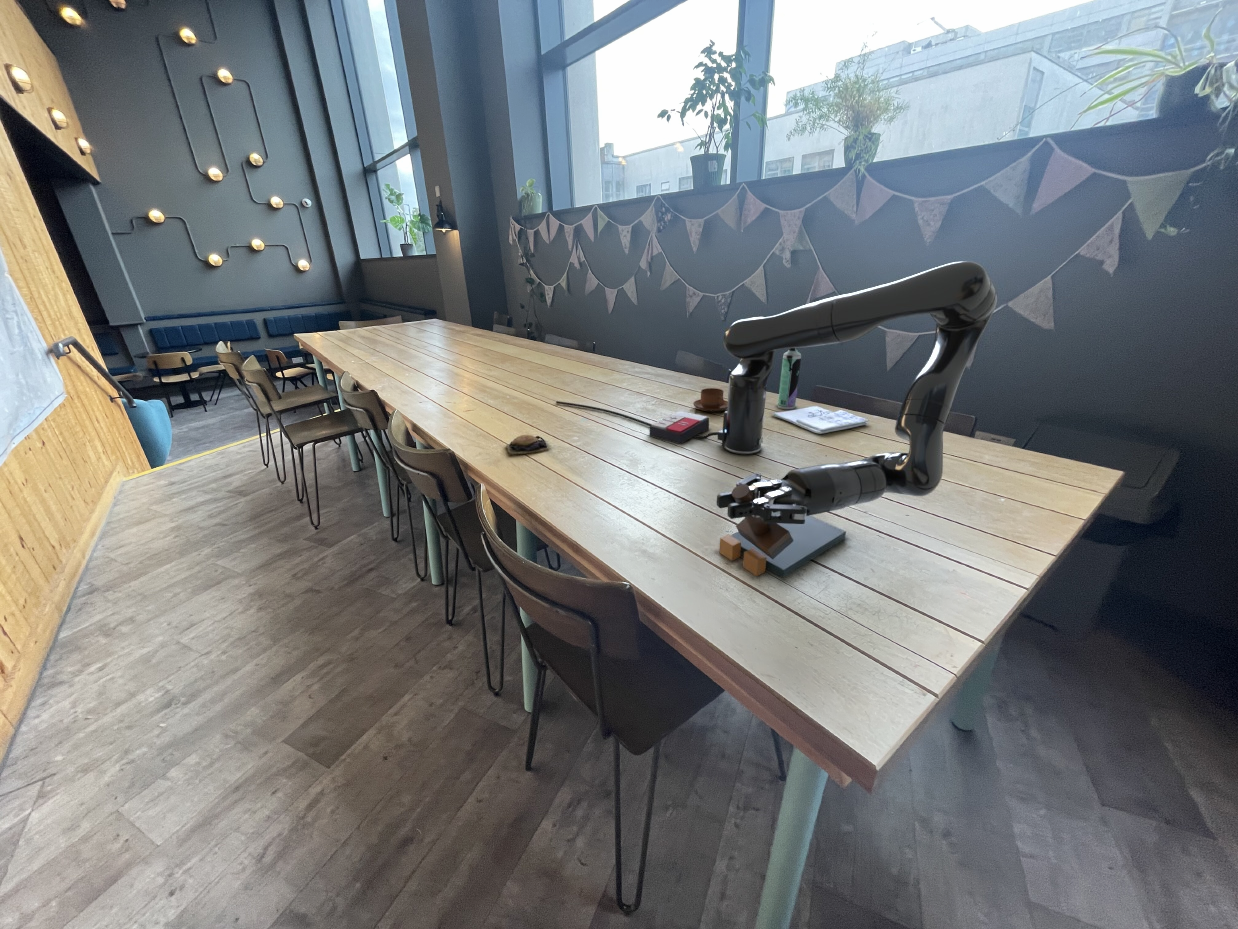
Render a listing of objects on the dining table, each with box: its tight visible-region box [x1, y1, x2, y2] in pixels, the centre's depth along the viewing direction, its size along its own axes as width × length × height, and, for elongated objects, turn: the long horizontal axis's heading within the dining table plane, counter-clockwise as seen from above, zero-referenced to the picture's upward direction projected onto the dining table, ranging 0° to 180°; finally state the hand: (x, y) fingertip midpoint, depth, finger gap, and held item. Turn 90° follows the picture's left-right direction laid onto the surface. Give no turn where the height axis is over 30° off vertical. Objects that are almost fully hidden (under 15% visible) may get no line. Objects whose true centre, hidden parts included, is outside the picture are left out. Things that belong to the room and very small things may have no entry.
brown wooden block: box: [718, 534, 741, 562], centre depth 79 cm, size 3×3×2 cm
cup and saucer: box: [693, 387, 728, 413], centre depth 156 cm, size 12×12×6 cm
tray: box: [729, 514, 847, 578], centre depth 83 cm, size 12×18×2 cm, turn 126°
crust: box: [742, 548, 767, 577], centre depth 75 cm, size 3×3×2 cm
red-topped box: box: [648, 410, 710, 444], centre depth 136 cm, size 11×4×15 cm
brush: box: [731, 484, 794, 559], centre depth 73 cm, size 8×4×12 cm
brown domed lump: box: [506, 434, 549, 456], centre depth 128 cm, size 11×8×4 cm
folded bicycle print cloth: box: [772, 405, 869, 435], centre depth 142 cm, size 19×20×2 cm
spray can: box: [777, 348, 802, 410], centre depth 153 cm, size 6×6×20 cm
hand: (723, 506), depth 70 cm, fingers closed on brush, 3 cm apart
